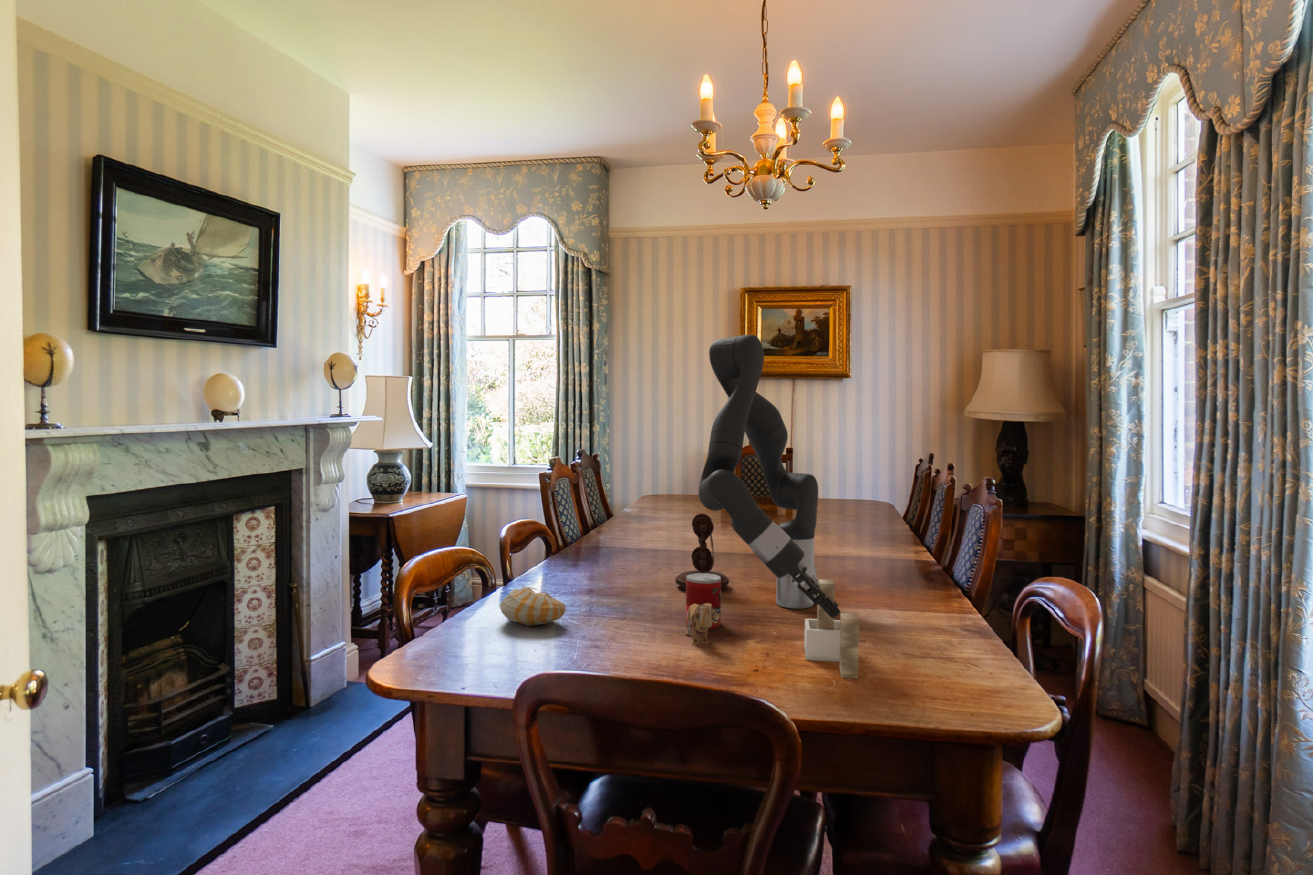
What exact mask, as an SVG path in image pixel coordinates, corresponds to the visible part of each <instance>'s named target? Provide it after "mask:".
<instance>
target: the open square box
mask: <svg viewBox="0 0 1313 875" xmlns="http://www.w3.org/2000/svg"><path fill="white" fill-rule="evenodd" d="M803 639H804V640H803V641H804V643H803V644H804V646H803V647H804V655H805V660H806V661H821V662H836V663H839V662H840V619H834V630H821V629H817V618H804V638H803Z"/></svg>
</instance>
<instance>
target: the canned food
mask: <svg viewBox="0 0 1313 875" xmlns="http://www.w3.org/2000/svg"><path fill="white" fill-rule="evenodd" d="M705 603H707V604H709V603H710V604H712V608H713V609H714V610H715V611H716V612H717V613H718V614H720V617H719V619H718V620H717V623H714V622H712V626H711V627H709V629H708V630H711V629H715V628H718V627H719V626H720V625H721V624H720V623H721V620H722V617H721V616H722V613H721V612H722V610H721V608H722V607H721V606H722V591H721V577H720V576H718V575H715V574H709V573H695V574H690V575H688V576H687V578H686V591H685V621H686V625H688V622H687V615H688V609H689V607H690V606H691V605H693V604H698V605H702V604H705ZM691 628H692V625H691Z"/></svg>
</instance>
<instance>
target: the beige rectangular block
mask: <svg viewBox="0 0 1313 875" xmlns="http://www.w3.org/2000/svg"><path fill="white" fill-rule="evenodd" d="M839 614H840V618H839V620H840V662H838V663H839V668H838V669H839V674H841V675H840V678H841V679H853V678H857V680H858V679H859V654H860V653H859V651H860V650H859V649H860V648H859V647H860V644H859V642H860V641H859V639H860V619H859V618H860V617H859V616H858V614H857V613H854V612H851V613H850V612H849V613H848V612H840V613H839Z"/></svg>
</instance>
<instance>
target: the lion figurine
mask: <svg viewBox="0 0 1313 875" xmlns="http://www.w3.org/2000/svg"><path fill="white" fill-rule="evenodd" d="M719 617H720V614H718V613H717V612H716V611H715V610H714V609H713V608H712V604H710V603H709V604H707V603H705V604H702V605H698V604H693V605H691V606H690V607H689V609H688V615H687V622H688V624H686V625H685V626H686V632H685V633H684V635H685V636H686V637H687V636H691V635H692V642H691V645H693V646H697V645H698V644H699V640H698V632H700V633H702V636H701V637H702V639H701V640H702V641H701V642H702V643H703V644H709V643H710V640H709V639H708V632H709V630H710V629H709V627H711V626H712V622H714V623H717V620H718V619H719ZM687 622H686V623H687ZM691 625H692V627H691Z"/></svg>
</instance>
